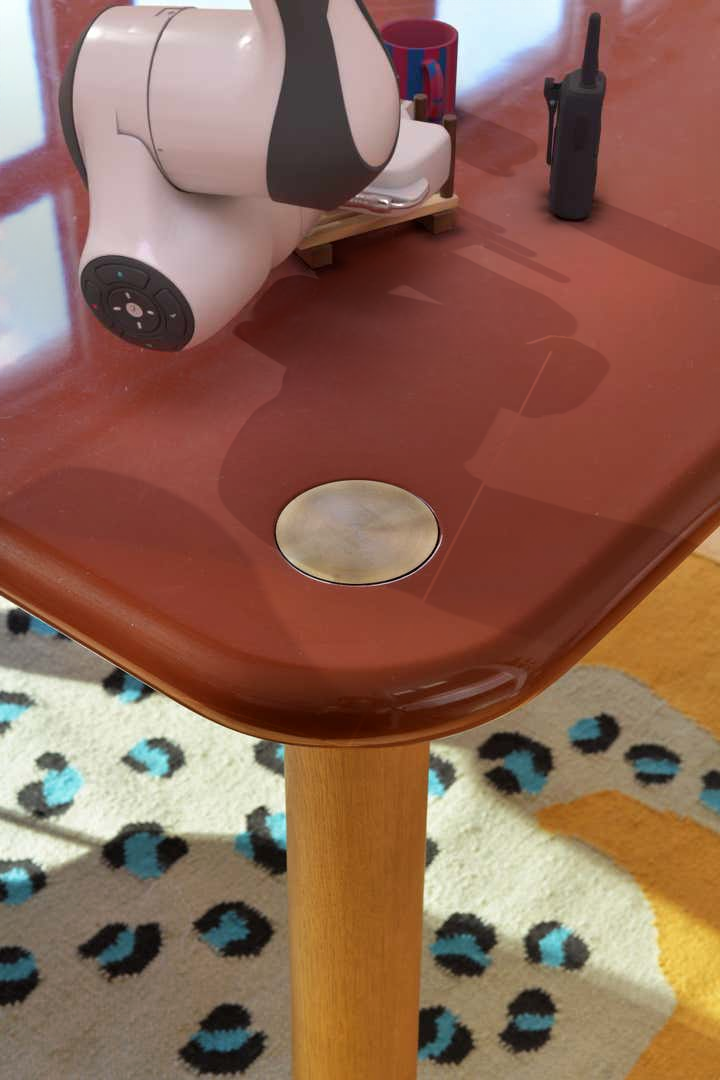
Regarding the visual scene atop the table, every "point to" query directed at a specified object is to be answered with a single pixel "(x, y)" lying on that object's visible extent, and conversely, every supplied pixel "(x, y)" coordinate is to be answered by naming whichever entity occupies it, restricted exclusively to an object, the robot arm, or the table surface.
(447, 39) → the mug
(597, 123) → the two-way radio
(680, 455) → the table surface
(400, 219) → the drying rack
